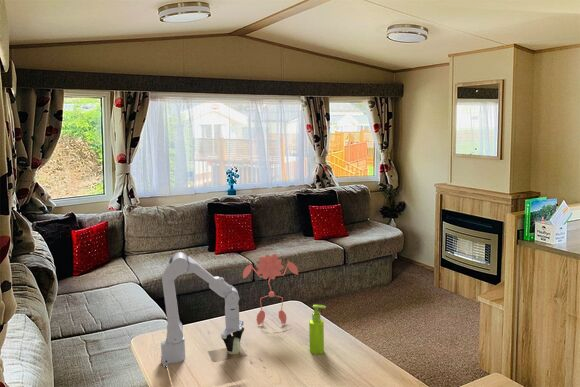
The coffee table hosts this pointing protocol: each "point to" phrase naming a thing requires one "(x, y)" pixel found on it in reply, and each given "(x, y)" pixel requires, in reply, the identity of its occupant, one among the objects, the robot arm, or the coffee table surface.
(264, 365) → the coffee table surface
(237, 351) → the cap
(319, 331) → the soap dispenser
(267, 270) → the figurine
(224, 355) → the post base
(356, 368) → the coffee table surface
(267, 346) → the coffee table surface
